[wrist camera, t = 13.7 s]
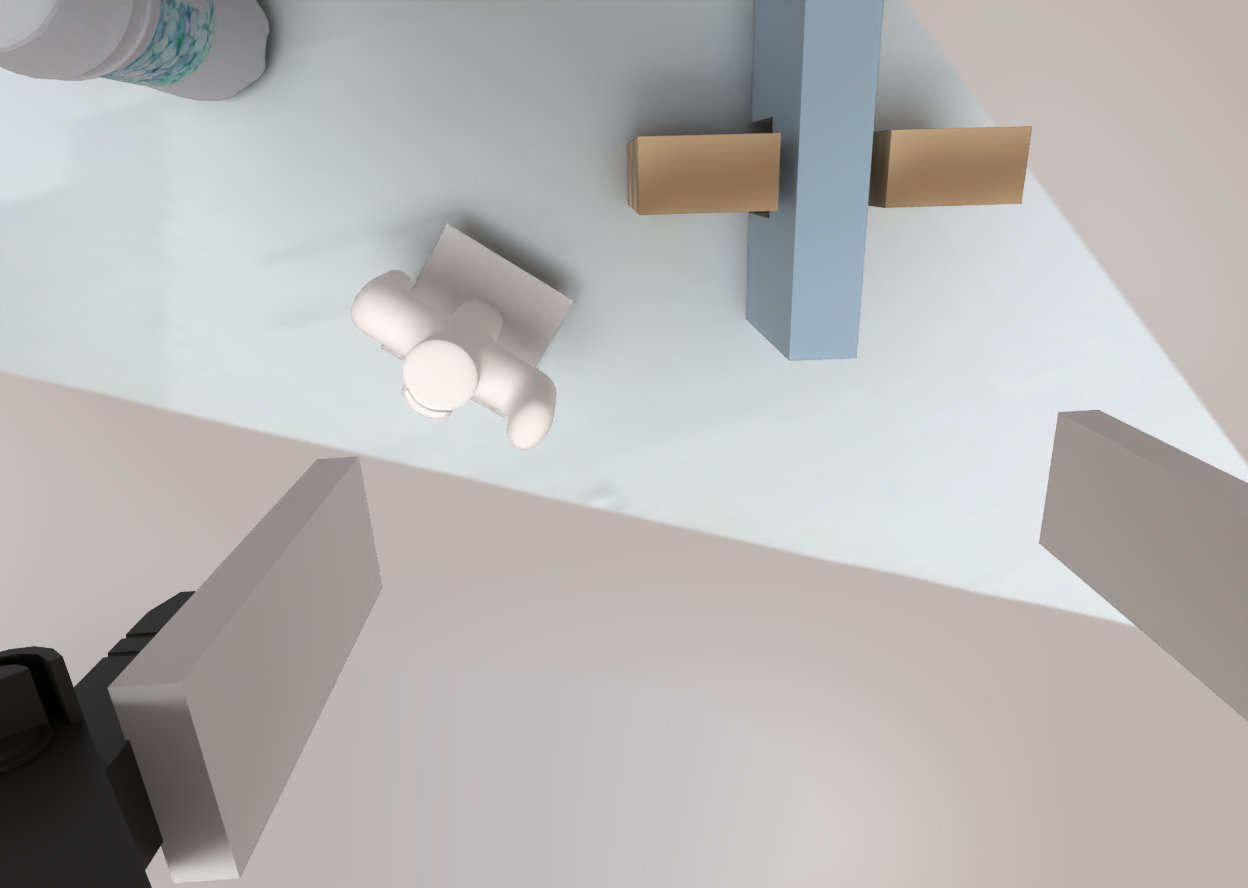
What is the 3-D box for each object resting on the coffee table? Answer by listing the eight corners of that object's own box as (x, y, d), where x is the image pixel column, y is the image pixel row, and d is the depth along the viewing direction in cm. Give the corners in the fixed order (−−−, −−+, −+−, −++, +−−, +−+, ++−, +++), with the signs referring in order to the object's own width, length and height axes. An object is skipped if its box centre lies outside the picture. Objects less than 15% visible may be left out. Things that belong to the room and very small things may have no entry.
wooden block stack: (626, 144, 40) (637, 136, 31) (930, 136, 41) (1032, 126, 31) (628, 204, 41) (639, 214, 32) (924, 196, 42) (1021, 203, 32)
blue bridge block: (754, -3, 38) (808, -59, 29) (814, -5, 38) (887, -61, 29) (746, 319, 44) (789, 360, 34) (799, 317, 44) (856, 358, 34)
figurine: (440, 207, 41) (362, 227, 27) (593, 301, 43) (594, 366, 29) (379, 323, 43) (276, 399, 29) (528, 408, 45) (499, 517, 31)
